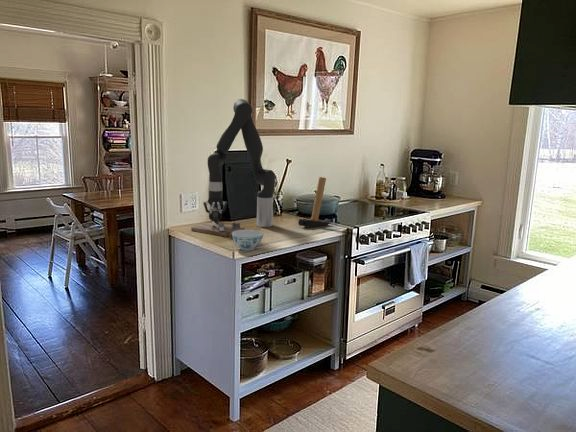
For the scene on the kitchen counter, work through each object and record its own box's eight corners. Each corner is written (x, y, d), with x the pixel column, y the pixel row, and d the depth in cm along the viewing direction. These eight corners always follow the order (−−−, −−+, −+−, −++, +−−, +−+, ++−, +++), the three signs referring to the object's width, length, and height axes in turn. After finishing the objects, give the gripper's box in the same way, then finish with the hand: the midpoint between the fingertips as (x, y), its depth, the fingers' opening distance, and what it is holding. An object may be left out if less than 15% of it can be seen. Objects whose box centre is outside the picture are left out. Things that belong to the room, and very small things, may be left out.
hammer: (324, 228, 277) (333, 179, 275) (329, 229, 273) (339, 180, 271) (297, 225, 266) (307, 174, 264) (302, 226, 262) (312, 175, 259)
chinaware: (243, 243, 227) (243, 228, 226) (269, 247, 220) (269, 232, 219) (225, 249, 214) (225, 234, 213) (252, 254, 207) (252, 238, 206)
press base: (211, 225, 265) (211, 217, 265) (244, 231, 254) (244, 222, 253) (191, 230, 251) (191, 221, 250) (225, 236, 239) (225, 227, 238)
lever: (225, 230, 242) (225, 216, 241) (218, 231, 241) (218, 216, 239) (217, 223, 260) (217, 209, 258) (210, 223, 258) (210, 209, 257)
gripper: (203, 190, 248) (203, 221, 251) (229, 190, 252) (228, 220, 255) (201, 188, 255) (201, 218, 258) (227, 188, 259) (226, 218, 262)
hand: (215, 219), depth 257 cm, fingers closed on lever, 4 cm apart
